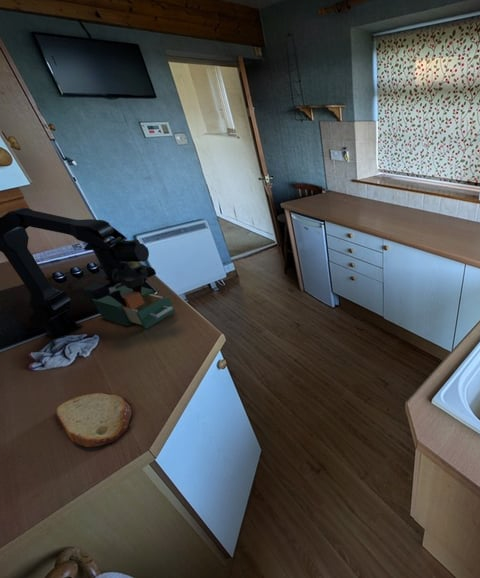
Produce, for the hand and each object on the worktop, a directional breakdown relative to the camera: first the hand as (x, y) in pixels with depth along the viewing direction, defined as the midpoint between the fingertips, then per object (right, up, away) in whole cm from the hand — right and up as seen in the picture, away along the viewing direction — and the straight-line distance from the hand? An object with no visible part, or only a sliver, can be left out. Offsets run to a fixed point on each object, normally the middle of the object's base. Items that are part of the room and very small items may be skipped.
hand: (132, 302), depth 100 cm
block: (0, -1, 0) cm, 1 cm away
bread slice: (+13, -29, -27) cm, 42 cm away
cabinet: (-11, -5, +13) cm, 18 cm away
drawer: (0, -6, +9) cm, 11 cm away
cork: (-29, +9, +37) cm, 48 cm away
